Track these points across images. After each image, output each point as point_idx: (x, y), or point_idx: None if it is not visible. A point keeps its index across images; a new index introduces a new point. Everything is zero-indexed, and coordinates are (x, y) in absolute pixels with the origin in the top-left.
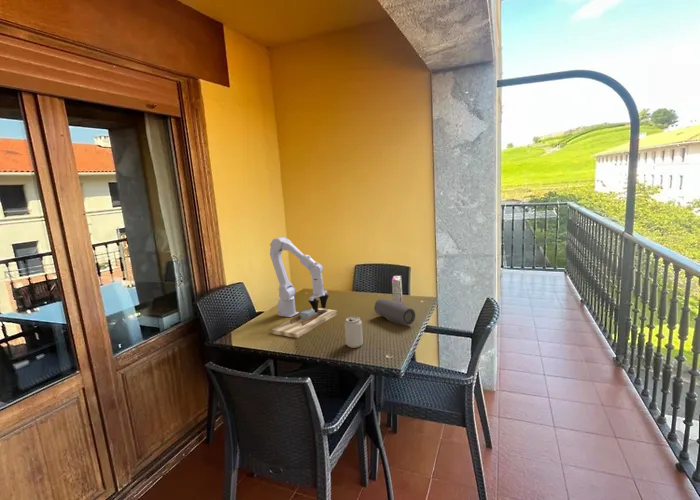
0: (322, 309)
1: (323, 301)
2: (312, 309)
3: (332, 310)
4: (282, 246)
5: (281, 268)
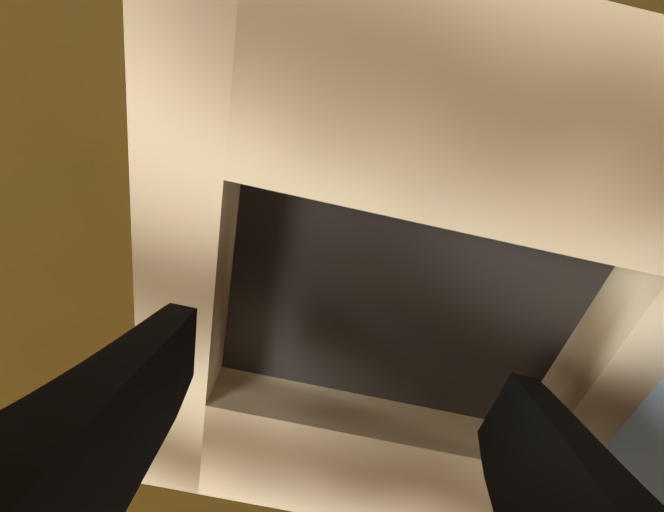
0: None
1: (85, 499)
2: (234, 477)
3: (178, 74)
4: None
5: None
